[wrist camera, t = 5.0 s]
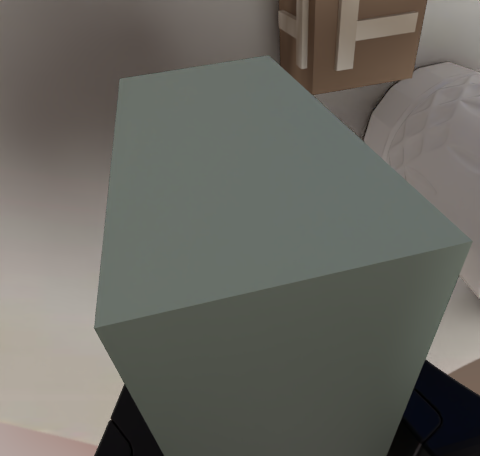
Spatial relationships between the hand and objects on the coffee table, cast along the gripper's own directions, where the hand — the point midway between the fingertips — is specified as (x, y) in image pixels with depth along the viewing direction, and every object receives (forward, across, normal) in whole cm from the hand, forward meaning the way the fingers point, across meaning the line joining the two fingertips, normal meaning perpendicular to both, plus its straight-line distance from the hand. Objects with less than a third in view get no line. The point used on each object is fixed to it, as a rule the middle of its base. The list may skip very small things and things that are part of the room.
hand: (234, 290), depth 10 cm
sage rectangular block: (+1, 0, -1) cm, 1 cm away
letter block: (+10, -6, -4) cm, 13 cm away
